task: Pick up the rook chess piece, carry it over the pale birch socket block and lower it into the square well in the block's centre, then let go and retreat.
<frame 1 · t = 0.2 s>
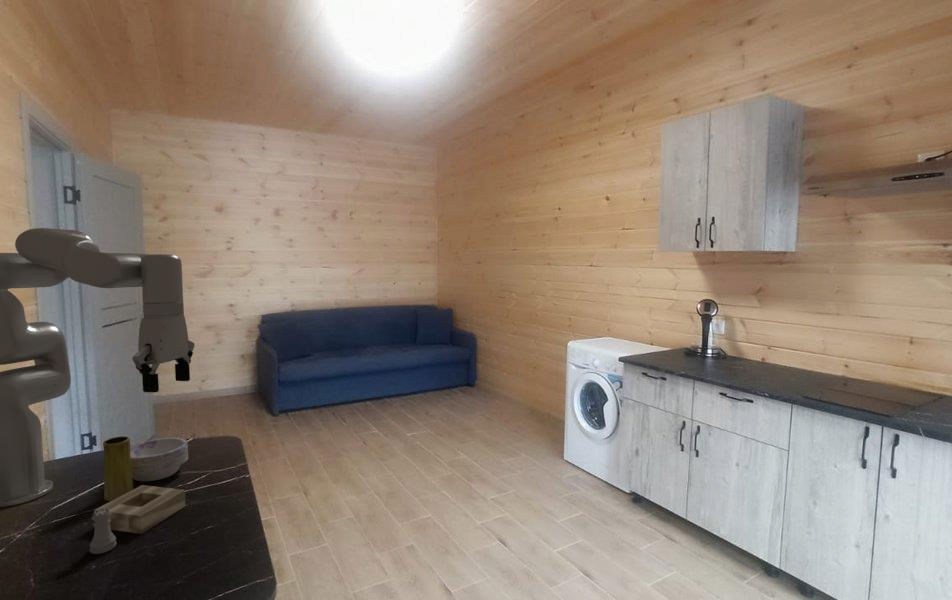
hand: (167, 386, 107), 31 cm above the table, tool pointing down, fingers open, 9 cm apart
socket block: (142, 516, 110), on the table
paper bowls: (156, 475, 131), on the table
rook chess piece: (103, 549, 97), on the table
vase: (119, 496, 119), on the table
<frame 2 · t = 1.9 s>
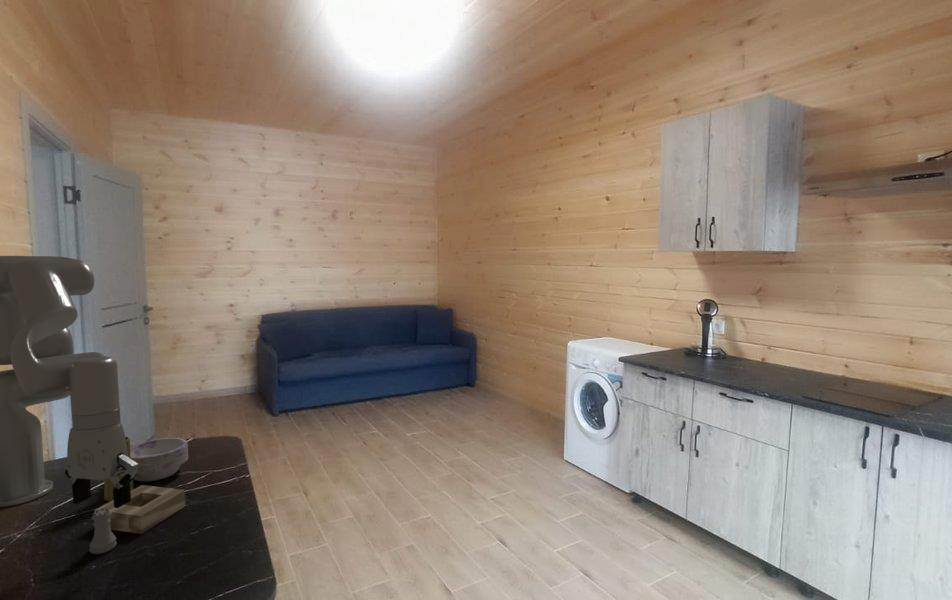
hand: (102, 502, 96), 10 cm above the table, tool pointing down, fingers open, 9 cm apart
nothing on the table moved.
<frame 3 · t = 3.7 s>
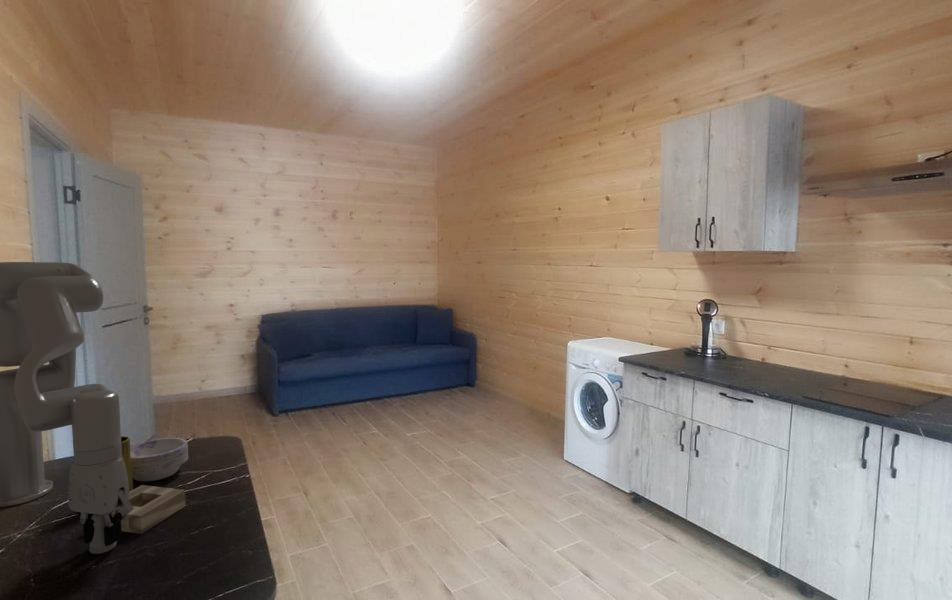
hand: (103, 539, 97), 2 cm above the table, tool pointing down, fingers closed on rook chess piece, 4 cm apart
rook chess piece: (103, 549, 97), on the table, touching gripper
everything else where it was.
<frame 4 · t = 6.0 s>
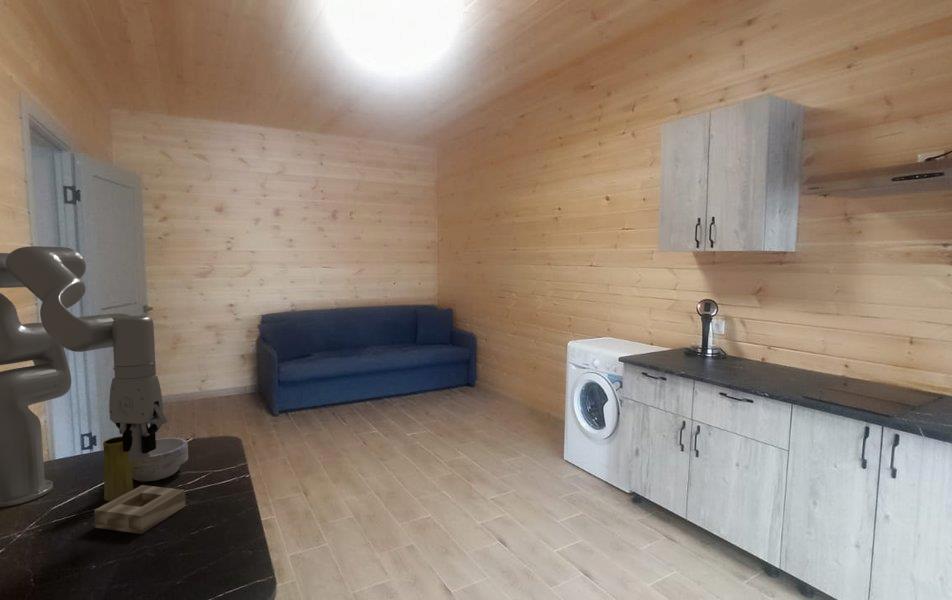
hand: (139, 449, 108), 16 cm above the table, tool pointing down, fingers closed on rook chess piece, 4 cm apart
rook chess piece: (140, 458, 109), point 14 cm above the table, touching gripper
everything else where it was.
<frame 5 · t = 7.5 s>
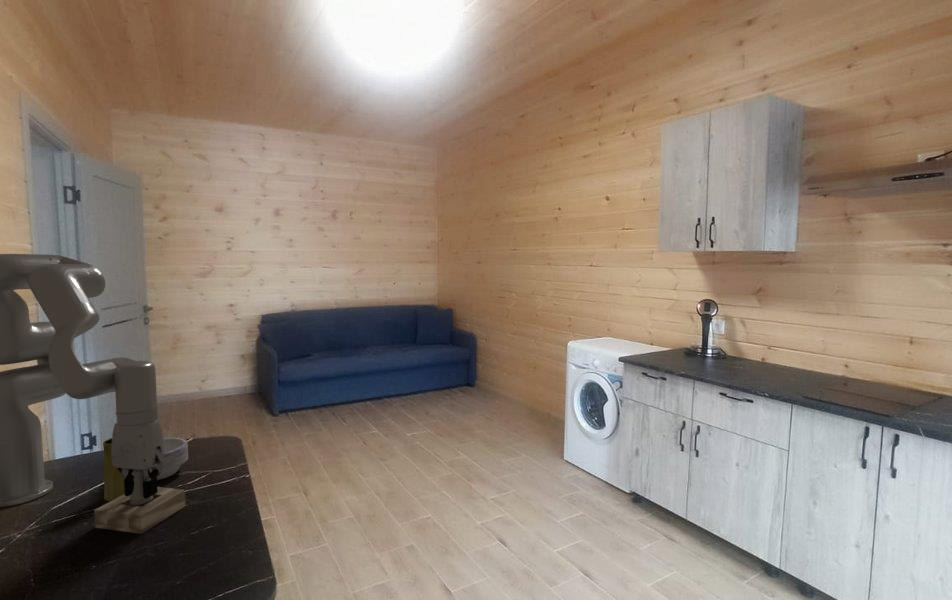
hand: (141, 493, 109), 5 cm above the table, tool pointing down, fingers closed on rook chess piece, 4 cm apart
rook chess piece: (141, 502, 109), point 3 cm above the table, touching gripper
everything else where it was.
when the fingers open (5 cm above the table, at t = 8.6 s): rook chess piece drops 2 cm, resting on socket block.
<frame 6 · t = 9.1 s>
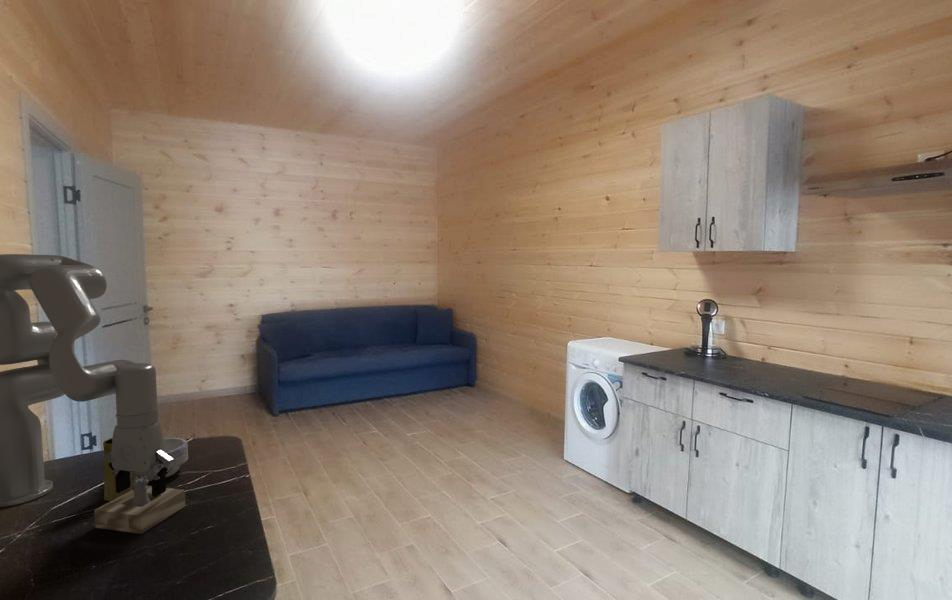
hand: (141, 492, 109), 6 cm above the table, tool pointing down, fingers open, 9 cm apart
rook chess piece: (141, 513, 110), point 1 cm above the table, touching socket block
everything else where it was.
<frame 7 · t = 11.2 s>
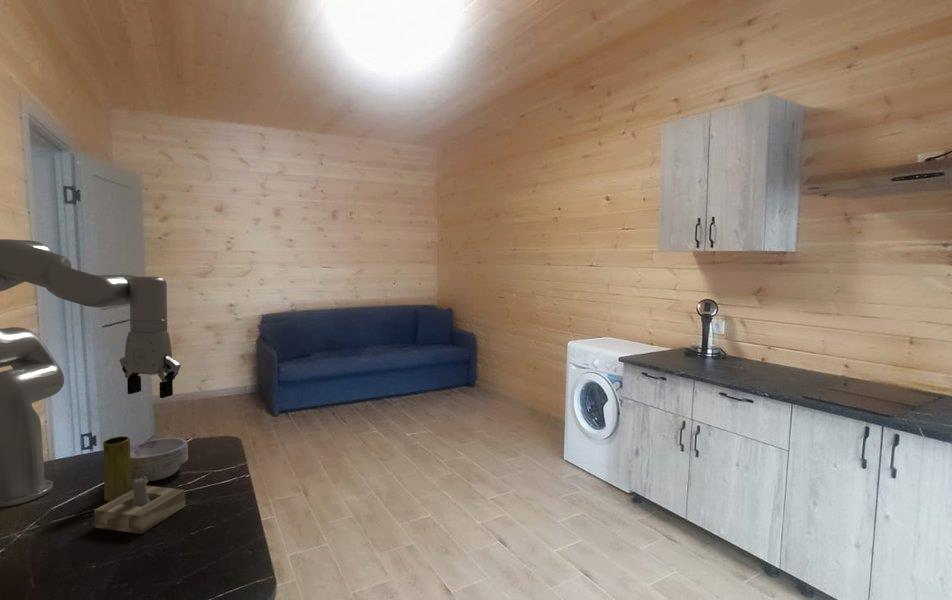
hand: (150, 394, 119), 25 cm above the table, tool pointing down, fingers open, 9 cm apart
nothing on the table moved.
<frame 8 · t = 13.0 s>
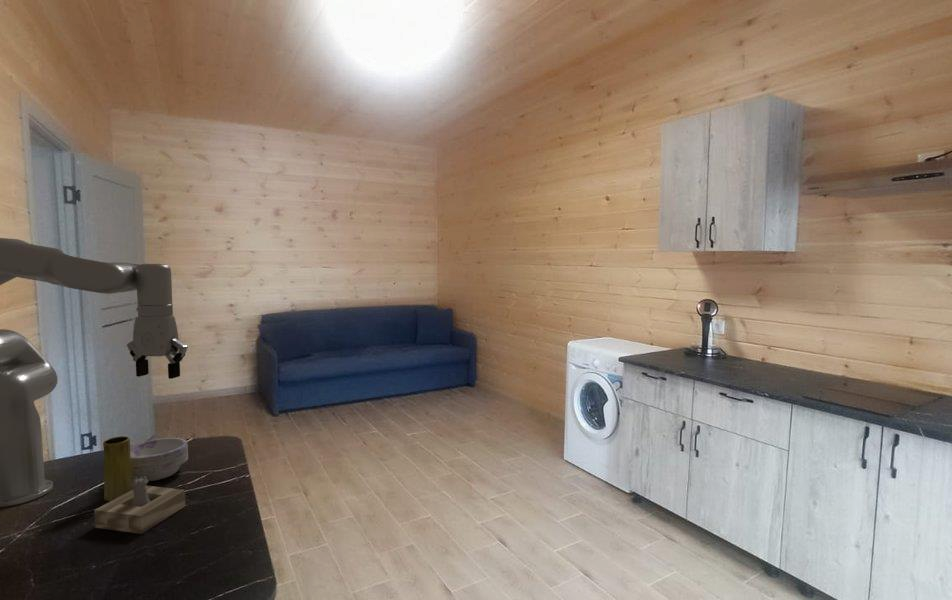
hand: (158, 376, 125), 28 cm above the table, tool pointing down, fingers open, 9 cm apart
nothing on the table moved.
at the end: rook chess piece 0.3 cm off-centre on the socket block, point 0.7 cm above the socket block's base; rook chess piece tilted 0°; the gripper is holding nothing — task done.
